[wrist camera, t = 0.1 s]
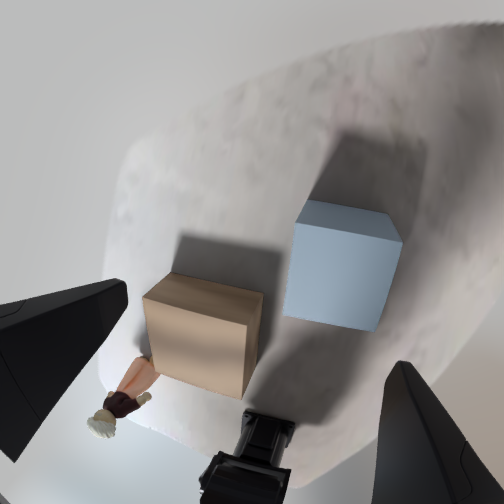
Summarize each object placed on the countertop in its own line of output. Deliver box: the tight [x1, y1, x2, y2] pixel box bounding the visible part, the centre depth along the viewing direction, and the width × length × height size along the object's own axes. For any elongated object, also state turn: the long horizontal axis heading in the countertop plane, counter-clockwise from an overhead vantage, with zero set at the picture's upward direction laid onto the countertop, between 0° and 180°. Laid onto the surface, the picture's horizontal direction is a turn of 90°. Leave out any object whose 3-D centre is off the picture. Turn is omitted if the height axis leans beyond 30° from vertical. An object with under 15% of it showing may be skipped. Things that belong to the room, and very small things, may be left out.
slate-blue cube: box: [282, 199, 403, 332], centre depth 19 cm, size 6×6×6 cm
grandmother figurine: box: [87, 356, 160, 438], centre depth 28 cm, size 8×4×13 cm, turn 127°
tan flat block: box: [142, 272, 264, 400], centre depth 26 cm, size 9×9×5 cm
